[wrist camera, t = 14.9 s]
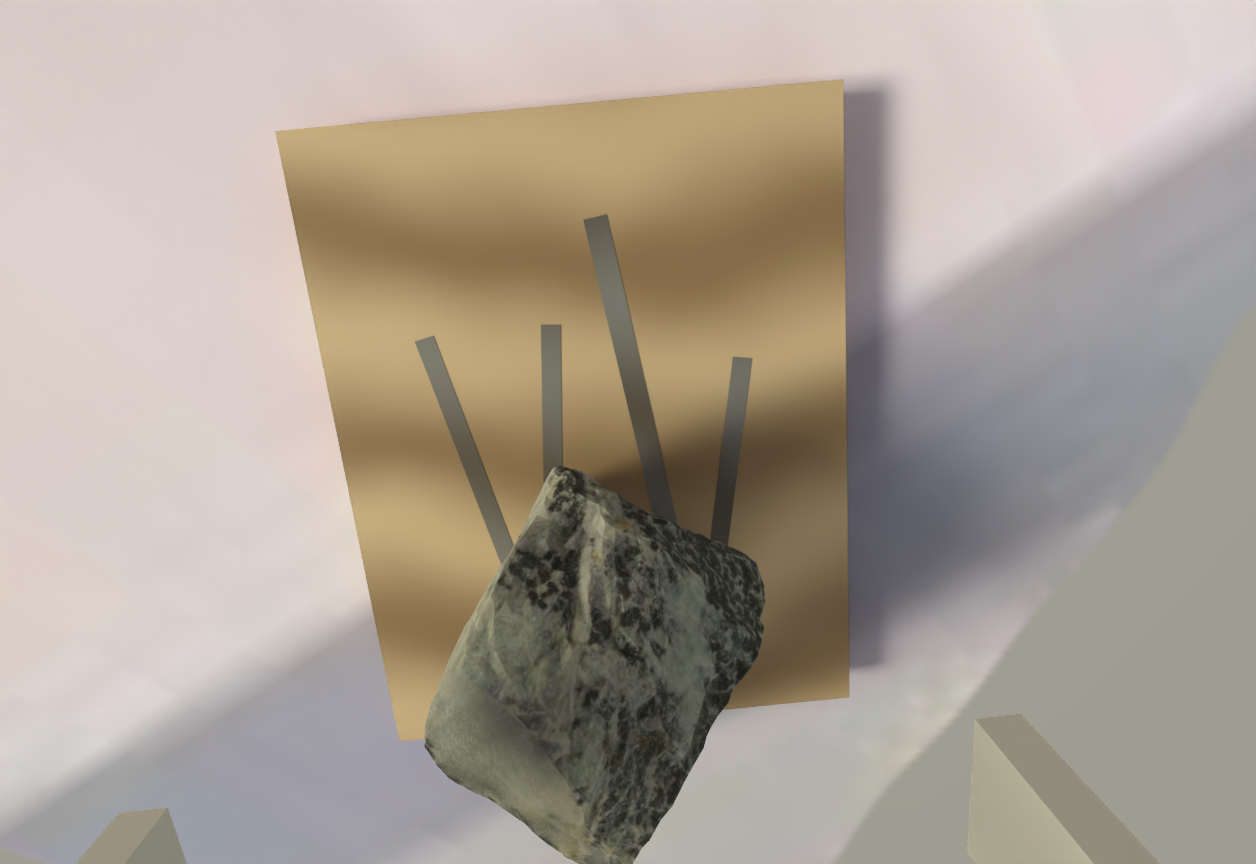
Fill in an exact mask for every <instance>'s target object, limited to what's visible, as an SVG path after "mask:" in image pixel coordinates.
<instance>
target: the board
mask: <svg viewBox="0 0 1256 864" xmlns="http://www.w3.org/2000/svg"><path fill="white" fill-rule="evenodd" d="M275 132H276V137H277V142H278V147H279V152H280V157H281V161H282V166H283V171H284V176H285V181H286V186H287V191H288V196H289V201H290V206H291V211H292V215H293V220H294V225H295V230H296V235H297V240H298V245H299V250H300V255H301V260H302V265H303V269H304V274H305V279H306V284H307V289H308V294H309V299H310V304H311V309H312V314H313V319H314V323H315V328H316V333H317V338H318V343H319V348H320V353H321V358H322V363H323V368H324V373H325V377H326V382H327V387H328V392H329V397H330V402H331V407H332V412H333V417H334V422H335V427H336V431H337V436H338V441H339V446H340V451H341V456H342V461H343V466H344V471H345V476H346V481H347V485H348V490H349V495H350V500H351V505H352V510H353V515H354V520H355V525H356V530H357V535H358V539H359V544H360V549H361V554H362V559H363V564H364V569H365V574H366V579H367V584H368V589H369V593H370V598H371V603H372V608H373V613H374V618H375V623H376V628H377V633H378V638H379V643H380V647H381V652H382V657H383V662H384V667H385V672H386V677H387V682H388V687H389V692H390V697H391V701H392V706H393V711H394V716H395V721H396V726H397V731H398V736H399V741H406V740H417V739H425V738H424V732H425V724H426V720H427V716H428V712H429V708H430V704H431V700H432V699H433V697H434V696H435V694H436V692H437V691H438V689H439V683H440V681H441V678H442V676H443V674H444V671H445V669H446V666H447V664H448V661H449V659H450V657H451V655H452V653H453V650H454V648H455V646H456V644H457V642H458V640H459V638H460V635H461V633H462V631H463V629H464V627H465V625H466V624H467V622H468V621H469V619H470V617H471V615H472V614H473V612H474V610H475V608H476V607H477V605H478V603H479V601H480V600H481V598H482V596H483V594H484V592H485V591H486V589H487V587H488V585H489V583H490V582H491V580H492V579H493V577H494V576H495V574H496V573H497V571H498V569H499V567H500V566H501V564H502V563H503V562H504V560H505V559H506V558H507V556H508V555H509V553H510V552H511V551H512V549H513V546H514V544H515V542H516V540H517V538H518V537H519V535H520V533H521V531H522V530H523V528H524V526H525V524H526V521H527V519H528V516H529V514H530V511H531V509H532V507H533V505H534V503H535V502H536V500H537V498H538V496H539V494H540V492H541V490H542V487H543V485H544V483H545V481H546V479H547V477H548V476H549V474H550V472H551V471H552V469H553V468H555V467H557V466H563V467H567V468H570V469H575V470H580V471H582V472H584V473H587V474H589V475H590V476H591V477H592V478H593V479H594V480H595V481H597V482H598V483H599V484H600V485H602V486H603V487H604V488H606V489H607V490H609V491H612V492H615V493H618V494H620V496H621V498H623V499H625V500H627V501H628V502H630V503H632V504H634V505H636V506H637V507H639V508H641V509H643V510H644V511H647V512H651V513H653V514H657V515H660V516H663V517H665V518H667V519H669V520H671V521H673V522H674V523H676V524H677V525H678V526H680V527H681V528H683V529H687V530H690V531H692V532H694V533H697V534H702V535H704V536H705V537H707V538H709V539H712V540H715V541H719V542H721V543H723V544H725V545H726V546H729V547H732V548H734V549H736V550H738V551H741V552H742V553H744V554H746V555H747V556H748V557H749V558H750V559H751V560H753V561H756V563H757V566H758V569H759V573H760V576H761V578H762V581H763V584H764V586H765V587H764V591H765V605H764V608H763V611H762V614H761V617H760V621H761V623H762V625H763V626H764V631H763V634H762V637H761V639H762V641H761V647H760V651H759V654H758V656H757V658H756V660H755V661H754V663H753V665H752V666H751V668H750V670H749V671H748V672H747V673H746V675H745V676H744V677H743V678H742V680H741V681H740V682H739V683H738V684H737V686H736V687H735V688H734V689H733V691H732V694H731V697H730V700H729V703H728V704H727V705H726V706H725V708H724V709H734V708H745V707H755V706H765V705H775V704H786V703H796V702H806V701H816V700H827V699H837V698H847V697H849V607H848V506H847V404H846V303H845V202H844V101H843V80H832V81H821V82H810V83H799V84H788V85H777V86H766V87H755V88H744V89H733V90H722V91H711V92H700V93H689V94H678V95H667V96H656V97H645V98H634V99H623V100H612V101H601V102H590V103H580V104H569V105H558V106H547V107H536V108H525V109H514V110H503V111H492V112H481V113H470V114H459V115H448V116H437V117H426V118H415V119H404V120H393V121H382V122H371V123H360V124H349V125H338V126H327V127H316V128H306V129H295V130H284V131H275ZM724 709H723V710H724Z"/></svg>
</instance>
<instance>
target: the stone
mask: <svg viewBox="0 0 1256 864" xmlns="http://www.w3.org/2000/svg"><path fill="white" fill-rule="evenodd" d="M764 587H765V586H764V584H763V581H762V578H761V576H760V573H759V569H758V566H757V563H756V561H753V560H751V559H750V558H749V557H748V556H747V555H746V554H744V553H742V552H741V551H738V550H736V549H734V548H732V547H729V546H726V545H725V544H723V543H721V542H719V541H715V540H712V539H709V538H707V537H705V536H704V535H702V534H697V533H694V532H692V531H690V530H687V529H683V528H681V527H680V526H678V525H677V524H676V523H674V522H673V521H671V520H669V519H667V518H665V517H663V516H660V515H657V514H653V513H651V512H647V511H644V510H643V509H641V508H639V507H637V506H636V505H634V504H632V503H630V502H628V501H627V500H625V499H623V498H621V496H620V494H618V493H615V492H612V491H609V490H607V489H606V488H604V487H603V486H602V485H600V484H599V483H598V482H597V481H595V480H594V479H593V478H592V477H591V476H590V475H589V474H587V473H584V472H582V471H580V470H575V469H570V468H567V467H563V466H557V467H555V468H553V469H552V471H551V472H550V474H549V476H548V477H547V479H546V481H545V483H544V485H543V487H542V490H541V492H540V494H539V496H538V498H537V500H536V502H535V503H534V505H533V507H532V509H531V511H530V514H529V516H528V519H527V521H526V524H525V526H524V528H523V530H522V531H521V533H520V535H519V537H518V538H517V540H516V542H515V544H514V546H513V549H512V551H511V552H510V553H509V555H508V556H507V558H506V559H505V560H504V562H503V563H502V564H501V566H500V567H499V569H498V571H497V573H496V574H495V576H494V577H493V579H492V580H491V582H490V583H489V585H488V587H487V589H486V591H485V592H484V594H483V596H482V598H481V600H480V601H479V603H478V605H477V607H476V608H475V610H474V612H473V614H472V615H471V617H470V619H469V621H468V622H467V624H466V625H465V627H464V629H463V631H462V633H461V635H460V638H459V640H458V642H457V644H456V646H455V648H454V650H453V653H452V655H451V657H450V659H449V661H448V664H447V666H446V669H445V671H444V674H443V676H442V678H441V681H440V683H439V689H438V691H437V692H436V694H435V696H434V697H433V699H432V700H431V704H430V708H429V712H428V716H427V720H426V724H425V732H424V738H425V740H426V742H425V748H426V749H427V751H428V752H429V754H430V755H431V757H432V758H433V760H434V761H435V763H436V764H437V766H438V767H439V768H440V769H441V770H442V771H443V772H444V773H445V774H446V775H447V777H448V778H450V779H451V780H453V781H454V782H456V783H457V784H460V785H462V786H464V787H466V788H467V789H469V790H471V791H473V792H474V793H476V794H479V795H481V796H484V797H486V798H488V799H490V800H491V801H493V802H494V803H496V804H497V805H499V806H500V807H502V808H503V809H505V810H506V811H507V812H509V813H510V814H512V815H513V816H515V817H516V818H518V819H519V820H521V821H522V822H524V823H525V824H526V825H527V826H528V827H529V828H530V829H531V830H532V831H533V832H534V833H535V834H536V835H537V836H538V837H540V838H541V839H542V840H543V841H545V842H546V843H547V844H549V845H550V846H552V847H553V848H555V849H556V850H558V851H559V852H561V853H562V854H563V855H564V857H566V858H569V859H571V860H573V861H575V862H577V863H579V864H633V862H634V860H635V859H636V857H637V855H638V854H639V852H640V850H641V849H642V847H643V846H644V845H645V844H646V843H647V842H648V841H649V840H650V838H651V836H652V835H653V833H654V831H655V829H656V827H657V826H658V824H659V822H660V820H661V819H662V818H663V817H664V815H665V814H666V813H667V812H668V811H669V809H670V808H671V807H672V806H673V803H674V801H675V799H676V797H677V795H678V793H679V791H680V789H681V787H682V785H683V783H684V781H685V780H686V778H687V776H688V774H689V772H690V770H691V769H692V767H693V765H694V763H695V762H696V760H697V758H698V757H699V755H700V753H701V751H702V750H703V748H704V744H705V740H706V736H707V734H708V732H709V730H710V728H711V726H712V724H713V723H714V721H715V719H716V717H717V716H718V715H719V713H720V712H721V711H722V710H723V709H724V708H725V706H726V705H727V704H728V703H729V700H730V697H731V694H732V691H733V689H734V688H735V687H736V686H737V684H738V683H739V682H740V681H741V680H742V678H743V677H744V676H745V675H746V673H747V672H748V671H749V670H750V668H751V666H752V665H753V663H754V661H755V660H756V658H757V656H758V654H759V651H760V647H761V641H762V639H761V637H762V634H763V631H764V626H763V625H762V623H761V621H760V617H761V614H762V611H763V608H764V605H765V591H764Z"/></svg>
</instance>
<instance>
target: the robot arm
mask: <svg viewBox="0 0 1256 864" xmlns="http://www.w3.org/2000/svg"><path fill="white" fill-rule="evenodd" d="M968 827H969V828H968V842H967V853H968V854H969V856H970V857H971V859H972V861H973V862H974V864H1160V863H1159V862H1158V861H1157V860H1156V859H1155V858H1154V857H1153V856H1152V854H1150V853H1149V851H1148V850H1147V849H1146V848H1145V847H1144V846H1143V845H1142V844H1141V843H1140V842H1139V841H1138V840H1137V838H1136V837H1135V836H1134V835H1133V834H1132V833H1131V832H1130V831H1129V830H1128V829H1127V828H1126V827H1125V826H1124V824H1123V823H1122V822H1121V821H1120V820H1119V819H1118V818H1117V817H1116V816H1115V815H1114V814H1113V813H1112V812H1111V810H1110V809H1108V807H1107V806H1106V805H1105V804H1104V803H1103V802H1102V801H1101V800H1100V799H1099V798H1098V796H1097V795H1096V794H1095V793H1094V792H1093V791H1092V790H1091V789H1090V788H1089V787H1088V786H1087V785H1086V784H1085V783H1084V781H1083V780H1082V779H1081V778H1080V777H1079V776H1078V775H1077V774H1076V773H1075V772H1074V771H1073V770H1072V768H1071V767H1070V766H1069V765H1068V764H1067V763H1066V762H1065V761H1064V760H1063V759H1062V758H1061V757H1060V756H1059V754H1058V753H1057V752H1056V751H1055V750H1054V749H1053V748H1052V747H1051V746H1050V745H1049V744H1048V743H1047V742H1046V741H1045V739H1043V737H1042V736H1041V735H1040V734H1039V733H1038V732H1037V731H1036V730H1035V729H1034V728H1033V727H1032V725H1031V724H1030V723H1029V722H1028V721H1027V720H1026V719H1025V718H1024V717H1023V716H1022V715H1021V714H1016V715H1007V716H998V717H989V718H980V719H975V728H974V745H973V761H972V777H971V793H970V810H969V826H968ZM76 864H187V863H186V860H185V857H184V854H183V852H182V849H181V846H180V843H179V840H178V837H177V834H176V831H175V828H174V825H173V822H172V819H171V816H170V813H169V810H168V808H162V809H153V810H144V811H135V812H125V813H119V814H118V815H117V816H116V817H115V819H114V820H113V821H112V822H111V823H110V824H109V826H108V827H107V828H106V829H105V830H104V831H103V833H102V834H101V835H100V836H99V837H98V838H97V840H96V841H95V842H94V843H93V844H92V845H91V847H90V848H89V849H88V850H87V851H86V852H85V854H84V855H83V856H82V857H81V858H80V859H79V860H78V862H77V863H76Z"/></svg>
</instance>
